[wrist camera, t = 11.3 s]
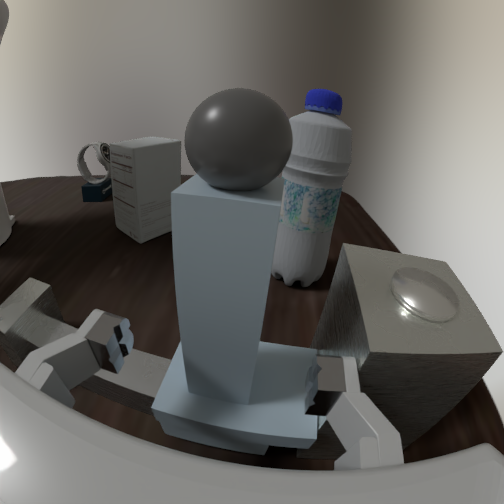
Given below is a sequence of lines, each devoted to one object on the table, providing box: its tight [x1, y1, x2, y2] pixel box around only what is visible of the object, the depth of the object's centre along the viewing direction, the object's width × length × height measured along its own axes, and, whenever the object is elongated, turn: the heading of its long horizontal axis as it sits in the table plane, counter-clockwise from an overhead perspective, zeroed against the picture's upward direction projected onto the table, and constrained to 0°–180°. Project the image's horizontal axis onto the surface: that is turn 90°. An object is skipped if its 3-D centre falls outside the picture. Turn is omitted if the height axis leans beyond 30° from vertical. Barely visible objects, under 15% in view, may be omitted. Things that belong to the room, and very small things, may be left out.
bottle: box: [271, 89, 352, 287], centre depth 26 cm, size 7×7×20 cm
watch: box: [77, 142, 112, 202], centre depth 45 cm, size 6×8×11 cm
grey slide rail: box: [0, 243, 503, 459], centre depth 14 cm, size 30×8×11 cm, turn 82°
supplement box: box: [110, 137, 181, 244], centre depth 35 cm, size 7×7×13 cm
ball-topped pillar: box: [151, 88, 317, 455], centre depth 11 cm, size 8×6×17 cm
